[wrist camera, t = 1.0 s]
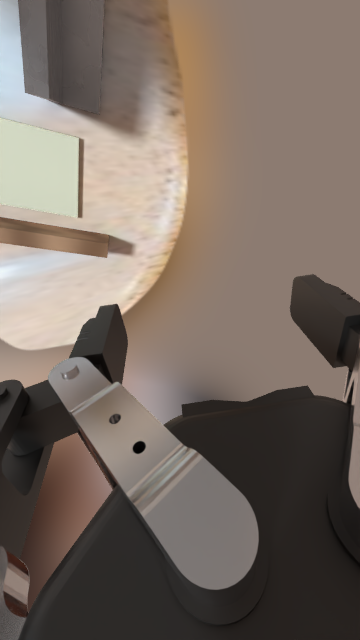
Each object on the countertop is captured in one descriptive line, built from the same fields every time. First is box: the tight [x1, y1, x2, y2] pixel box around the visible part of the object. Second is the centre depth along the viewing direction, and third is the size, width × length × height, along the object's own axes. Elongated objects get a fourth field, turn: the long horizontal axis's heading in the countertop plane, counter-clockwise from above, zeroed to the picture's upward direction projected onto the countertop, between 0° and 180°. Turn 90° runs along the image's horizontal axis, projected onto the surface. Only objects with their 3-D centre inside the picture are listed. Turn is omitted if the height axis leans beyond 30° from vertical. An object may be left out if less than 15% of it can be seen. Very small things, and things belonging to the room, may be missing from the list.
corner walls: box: [0, 217, 109, 258], centre depth 24 cm, size 18×15×3 cm
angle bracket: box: [18, 0, 105, 114], centre depth 19 cm, size 8×4×7 cm, turn 167°
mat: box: [0, 118, 79, 218], centre depth 26 cm, size 11×8×1 cm
